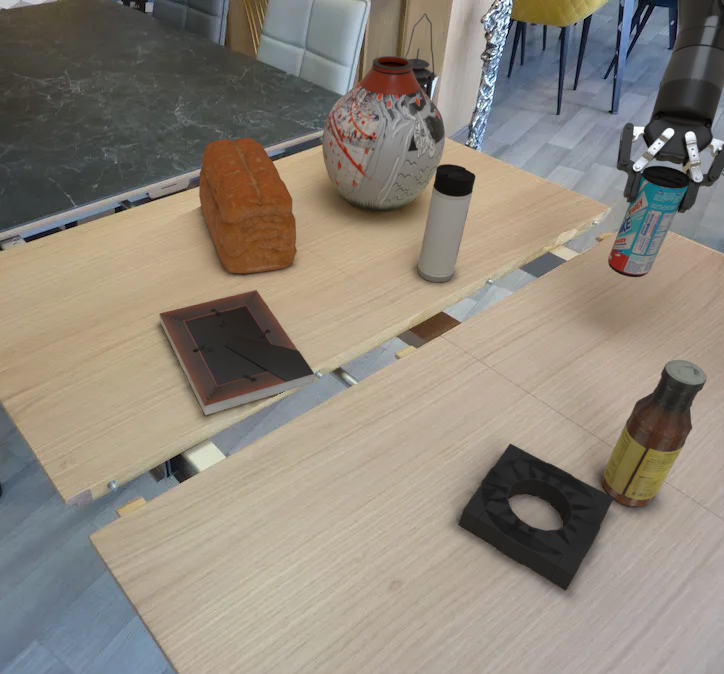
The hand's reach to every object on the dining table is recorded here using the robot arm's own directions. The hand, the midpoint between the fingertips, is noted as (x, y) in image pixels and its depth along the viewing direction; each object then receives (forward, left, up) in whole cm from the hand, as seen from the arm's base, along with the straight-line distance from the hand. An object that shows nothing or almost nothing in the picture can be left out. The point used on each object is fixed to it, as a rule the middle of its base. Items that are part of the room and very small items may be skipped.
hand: (656, 205), depth 91 cm
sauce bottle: (-13, +28, -23) cm, 39 cm away
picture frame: (+42, +41, -23) cm, 63 cm away
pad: (-5, +40, -23) cm, 46 cm away
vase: (+51, -13, -23) cm, 57 cm away
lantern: (+59, -38, -23) cm, 74 cm away
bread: (+63, +14, -23) cm, 68 cm away
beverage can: (0, -2, -11) cm, 12 cm away
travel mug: (+29, +2, -23) cm, 37 cm away
